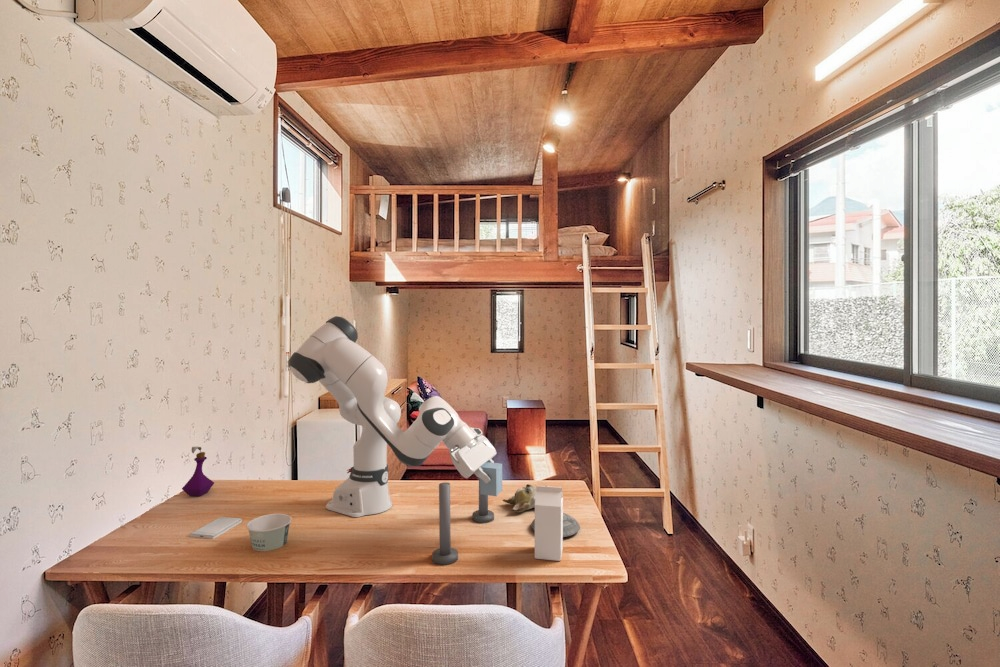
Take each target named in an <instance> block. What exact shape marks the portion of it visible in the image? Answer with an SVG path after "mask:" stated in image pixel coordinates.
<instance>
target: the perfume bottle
mask: <svg viewBox="0 0 1000 667" xmlns="http://www.w3.org/2000/svg"><path fill="white" fill-rule="evenodd" d="M196 450H199V452H198V453H197V454H195V455H196V457H195V458H193V460H194V461H195V463H196V466H195V469H194V472H193V474H192V476H191V477H190V479H189V480H188V481H187V482H186V483H185V484H184V486H182V487H181V490H182V491H183V492H185V493H186V494H187V496H189V497H202V496H204V495H205V494H208V493H209V492H210V490H211V489H212V488H213V486H214V484H215V482H214V481H213V480H211V479H210V478H209V477H208V476H206V475H205V474H204V473H203V464H204V462H205V461H206V460H207V459H208V458H207V456H206V452H205V451H201V450H202V446H192V447H191V453H192V454H194V453H195V452H196Z"/></svg>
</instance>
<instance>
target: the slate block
mask: <svg viewBox="0 0 1000 667" xmlns="http://www.w3.org/2000/svg"><path fill="white" fill-rule="evenodd" d="M481 468H482V470H483V472H484V473H486V474H489V475H490V477H491V478H492V479H491V480H490V481H489V482H488V483H485V482H484V481H483V480H482V479H481V478H480V494H482V495H488V496H489V497H490V496H492V497H497V496H498V495H500V493H501V492H502V491H503V463H498V462H494V463H491V462H486V463H485V464H483V465H482V466H481Z"/></svg>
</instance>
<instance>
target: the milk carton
mask: <svg viewBox="0 0 1000 667" xmlns="http://www.w3.org/2000/svg"><path fill="white" fill-rule="evenodd" d="M535 489H536V497H535V507H534V519H535V531H534V559H538V560H546V561H556V562H560V561H561V560H562V554H563V549H564V547H563V546H564V537H563V513H564V495H563V487H562V486H561V487H560V486H548V485H544V486H543V485H536V487H535Z"/></svg>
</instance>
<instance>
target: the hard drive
mask: <svg viewBox="0 0 1000 667" xmlns="http://www.w3.org/2000/svg"><path fill="white" fill-rule="evenodd" d="M242 522H243V519H242V518H239V517H228V516H227V517H226V516H219V517H217V518H215V519H214V520H212V521H210V522H208V523H206V524H205V525H203V526H200V528H199V527H198V529H196V530H194V531H192V532H190V533H189V538H199V539H200V538H202V539H210V540H211V539H212V540H214V539H215V538H217V537H219V536H221V535H222V534H224V533H226V532H227V531H229V530H230V529H232V528H235V527H236V526H237V525H239V524H241V523H242Z"/></svg>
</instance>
